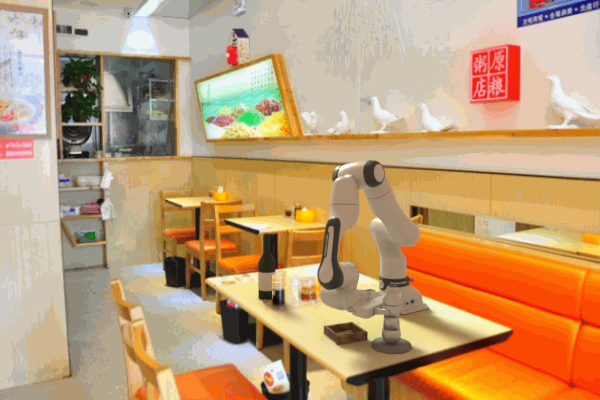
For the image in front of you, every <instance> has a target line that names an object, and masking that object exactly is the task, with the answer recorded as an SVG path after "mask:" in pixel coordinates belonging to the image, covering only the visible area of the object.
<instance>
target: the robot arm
mask: <svg viewBox="0 0 600 400" xmlns="http://www.w3.org/2000/svg"><path fill="white" fill-rule="evenodd" d="M331 179H332V187H331V192H330V200H329V201H330V202H329V203H330V204H329V206H330V207H329V216H328V220H327V221H326V224H325V228H324V235H323V241H322V252H321V259H320V261H319V266H318V268H317V271H316V273H317V274H316V276H317V277H316V278H317V281H318V283H319V285H320V286H321V288H320V291H319V296H320V297H319V298H320V300H321V302H322V303H323V304H324V305H325V306H326V307H329V308H332V309H335V310H337V311H338V310H339V311H346V312H348V313H351V314H352V315H353V316H355V317H358V318H362V319H366V320H367V319H370V318H373V317H374V316H376V315H377V316H381V315H382V316H384V315H389V314H390V310H389V309H383V303H382V300H383V297H384V296H385V295H386V294H387V286H388V285H396V286H398V292H397V294H398V295H399V297H400V299H401V308H400V315H408V314H411V313H415V312H419V311H423V310H427V309H429V305H428V304H427V303H426V302H425V301H424V300H423V296H422V293H421V292H420V290H418V289H417V288H415V287H414V286H413V285H412V284H411V283H414V282H415V277H413V276H408V275H407V263H408V262H407V257H406V255H405V254H404V252H403V251H402V249H401V247H413V246H415V245H417V243H418V242H419V240H420V238H421V229H420V227H419V225H417V224H416V223H414V222H413V220H411V219H410V218H409V216H407V214H406V213H405V211H404V210H403V209H402V207H401V206H400V205H399V202H398V200H397V198H396V196H395V194H394V192H393V188H392V186H391V183H390V181H389V180H388V177H387V175H386V171H385V168H384V166H383V164H382V163H381V162H379V161H378V160H374V159H368V160H358V161H354V162H353V161H352V162H349V163H346V164H344V163H343V164H340V165H337V166H336V167H335V168H334V170H333V171H332V176H331ZM360 190H363V193H364V195H365V198H366V200H367V203H368V205H369V207H370V210H371V212H372V214H373V215H374V216H375V218H373V219H372V220H371V222H370V224H369V227H368V229H369V233H370V235H371V236H372V238H373V240H374V241H375V244H376V246H377V250H378V253H379V266H380V267H379V269H380V270H379V276H378V289H379V290H378V291H376V289H374V288H369V289H359V288H357V287H358V284H359V280H360V279H359V278H360V271H359V268H358V266H357V265H356V264H355V263H353V262H352V261H339V260H340V259H339V258H340V250H341V242H342V241H341V240H342V237H343V235H344V234H345V233H346V232H347V231H348V230H351V229H352V228H353V227H354V226H356V225H357V223H358V221H359V217H360V194H359V191H360ZM410 282H411V283H410Z"/></svg>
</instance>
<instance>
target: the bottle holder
mask: <svg viewBox="0 0 600 400" xmlns="http://www.w3.org/2000/svg"><path fill="white" fill-rule="evenodd" d="M348 331H349V332H350V331H351V332H353V333H346V334H341V335H340V334H338V333H343V332H348ZM368 334H369V333H368V331H367V330H365V329H364V328H363V327H361V326H359V325H358V324H356V323H355V322H353V321H347V322H340V323H339V322H338V323H334V324H333V323H332V324H327V325H323V335H325V336H327V338H328V339H330V340H331V341H332V342H333V343H335V344H336V345H337V346H339V345H346V344H351V343H358V342H365V341H368V340H369V339H368V338H369V337H368Z"/></svg>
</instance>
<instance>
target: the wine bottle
mask: <svg viewBox="0 0 600 400" xmlns="http://www.w3.org/2000/svg"><path fill="white" fill-rule="evenodd" d="M262 245H263V246H262V254H261V256H260V257H259V259H258V261H257V267H258V268H257V275H258V277H257V278H258V283H257V284H258V285H257V286H258V290H257V291H258V293H257V294H258V300H262V301H272V300H273V299H272V275H273V274H274V273H275V274H276V259H275V258H274V256H273V254H272V253H271V234H270V232H264V233H263V235H262Z"/></svg>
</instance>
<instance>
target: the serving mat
mask: <svg viewBox="0 0 600 400" xmlns="http://www.w3.org/2000/svg"><path fill="white" fill-rule="evenodd" d="M370 346H371V347H372V349H374V350H375V351H377V352H380V353H383V354H389V355H400V354H405V353H408V352H410V351H411V350H412V347H413V346H412V343H411V342H410V341H409V340H407V339H405V338H402V337H401V338H400V340H399V342H396V343H389V342H385V341H384V340H383V338H382V336H379V337H376V338H374V339H372V340H371V342H370Z"/></svg>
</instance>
